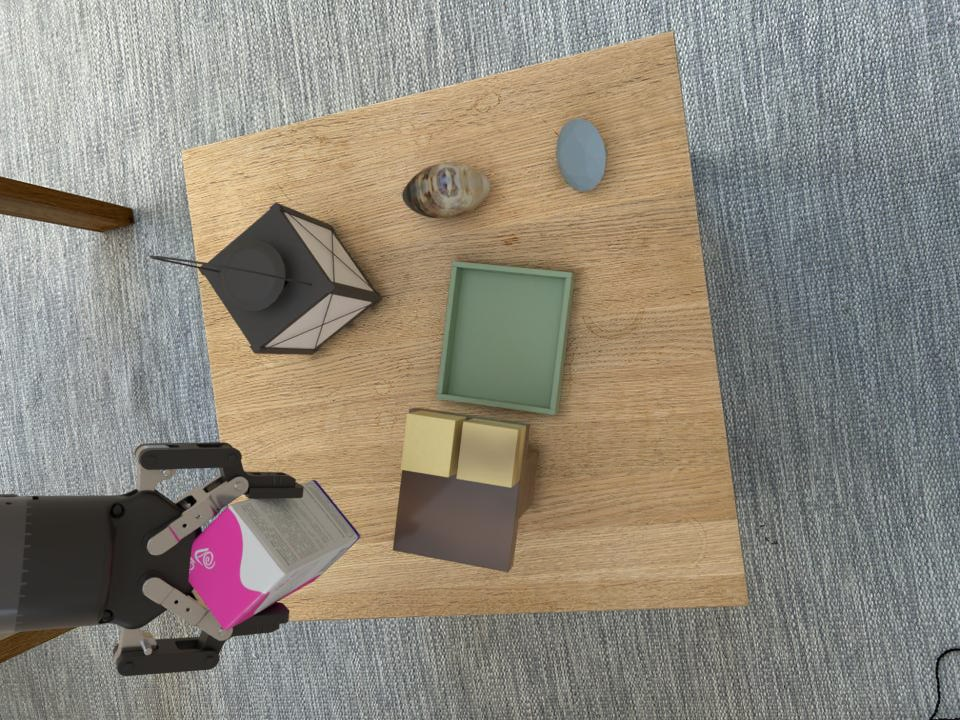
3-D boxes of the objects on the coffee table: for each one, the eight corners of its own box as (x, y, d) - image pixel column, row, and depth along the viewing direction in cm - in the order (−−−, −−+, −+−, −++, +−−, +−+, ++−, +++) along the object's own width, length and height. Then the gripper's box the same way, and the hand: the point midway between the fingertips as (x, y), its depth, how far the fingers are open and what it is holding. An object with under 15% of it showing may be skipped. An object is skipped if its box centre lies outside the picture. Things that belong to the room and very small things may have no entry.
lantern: (384, 299, 89) (261, 269, 62) (312, 356, 91) (162, 352, 64) (331, 223, 91) (188, 162, 63) (261, 281, 93) (94, 246, 65)
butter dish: (558, 413, 84) (554, 415, 81) (443, 397, 87) (435, 398, 84) (575, 275, 84) (572, 272, 81) (459, 264, 87) (452, 260, 84)
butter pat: (460, 471, 63) (448, 477, 60) (414, 463, 64) (400, 469, 61) (466, 417, 63) (455, 420, 59) (420, 410, 64) (406, 413, 60)
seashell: (492, 165, 86) (475, 145, 78) (499, 215, 86) (482, 201, 78) (412, 181, 88) (388, 163, 80) (418, 230, 88) (395, 217, 80)
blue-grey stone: (620, 101, 80) (584, 107, 77) (642, 172, 80) (607, 180, 77) (574, 128, 86) (540, 134, 83) (595, 194, 87) (561, 202, 84)
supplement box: (313, 475, 58) (231, 501, 47) (363, 536, 57) (291, 577, 46) (262, 525, 59) (168, 561, 48) (310, 585, 58) (226, 637, 47)
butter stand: (549, 516, 84) (499, 584, 59) (462, 501, 87) (377, 561, 61) (562, 408, 84) (518, 429, 58) (474, 396, 86) (394, 411, 61)
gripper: (0, 718, 40) (299, 677, 49) (28, 449, 40) (324, 456, 49) (1, 660, 47) (266, 633, 55) (25, 428, 47) (287, 437, 55)
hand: (292, 550), depth 52 cm, fingers closed on supplement box, 8 cm apart
